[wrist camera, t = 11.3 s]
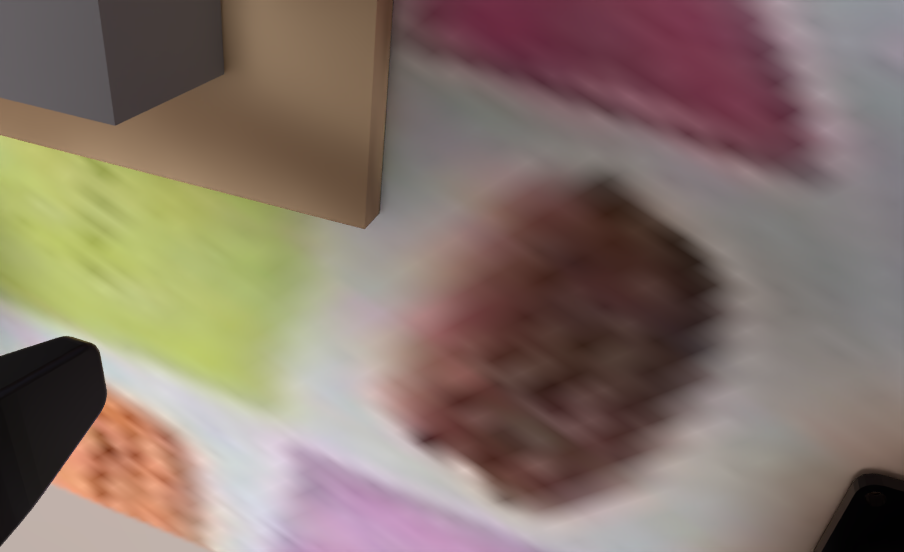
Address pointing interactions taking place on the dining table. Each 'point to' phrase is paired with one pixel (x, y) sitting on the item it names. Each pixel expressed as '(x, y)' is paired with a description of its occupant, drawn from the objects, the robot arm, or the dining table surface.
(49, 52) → the plug housing
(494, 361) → the dining table surface
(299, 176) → the pin board
